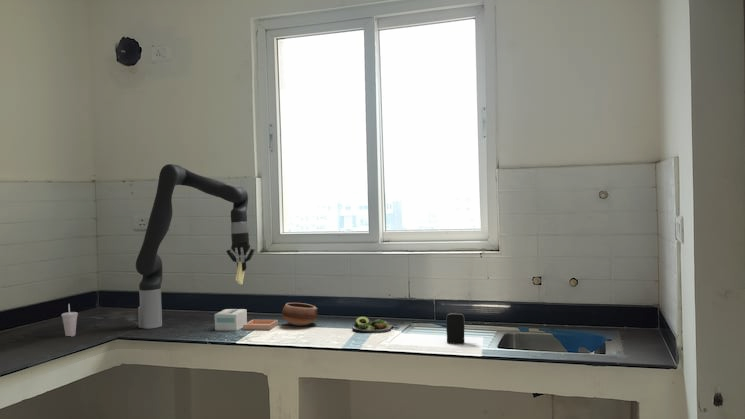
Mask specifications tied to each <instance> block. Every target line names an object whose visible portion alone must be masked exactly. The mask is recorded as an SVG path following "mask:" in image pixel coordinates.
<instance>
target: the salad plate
mask: <svg viewBox="0 0 745 419" xmlns="http://www.w3.org/2000/svg"><path fill="white" fill-rule="evenodd" d="M395 326H399V324H397V323H393V322H388V321H387V320H384V319H379V318H378V319H374V320H373V321H372V320H370V318H368V317H367V316H359V317H358V316H357V317H356V319H355V323H354V324H353V325H352V328H351V330H352V331H353V332H355V333H359V332H360V333H361V334H370V333H371V334H372V333H373V334H374V333H386V332H389V331H391V329H392V328H393V327H395Z"/></svg>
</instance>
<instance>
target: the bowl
mask: <svg viewBox="0 0 745 419" xmlns="http://www.w3.org/2000/svg"><path fill="white" fill-rule="evenodd" d="M281 316H282V318H283V319H284V320H285V321H286V322H287V323H289V324H291V325H293V326H299V327H303V326H308V325H310V324H312V323H314V322H315V321H316V320H317V318H318V307H316V305H312V304H309V303H302V302H286V303H285V305H284V306H283V309H282V311H281Z"/></svg>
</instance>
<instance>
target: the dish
mask: <svg viewBox="0 0 745 419" xmlns="http://www.w3.org/2000/svg"><path fill="white" fill-rule="evenodd" d="M278 325H279V320H278V319H251V320H249V321H247V323H246V324H244V325H243V327H242V328H243V331H271V330H273V329H274V328H276V327H277V326H278Z"/></svg>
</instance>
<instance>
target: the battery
mask: <svg viewBox="0 0 745 419" xmlns="http://www.w3.org/2000/svg"><path fill="white" fill-rule="evenodd" d="M465 323H466V322H465V315H464V314H463V313H462V312H461V313H460V312H451V313H450V312H449V313H447V315H446V318H445V326H446V327H445V329H446V343H448V344H459V345H460V344H465Z"/></svg>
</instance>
